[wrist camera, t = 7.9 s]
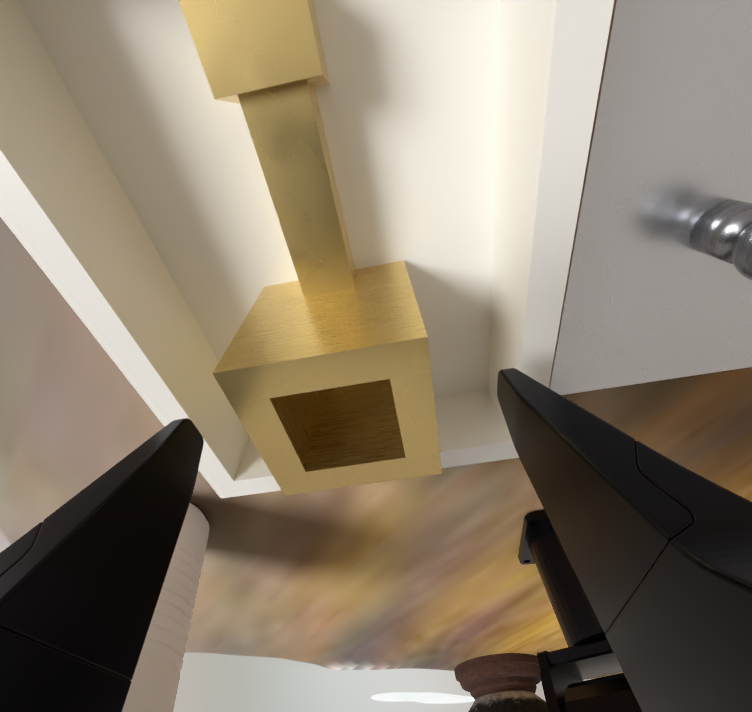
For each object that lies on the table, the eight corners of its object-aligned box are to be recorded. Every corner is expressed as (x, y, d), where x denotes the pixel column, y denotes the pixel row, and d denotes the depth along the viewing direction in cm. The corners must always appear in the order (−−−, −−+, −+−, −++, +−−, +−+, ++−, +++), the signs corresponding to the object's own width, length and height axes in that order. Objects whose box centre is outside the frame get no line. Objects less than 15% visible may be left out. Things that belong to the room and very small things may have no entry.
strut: (418, 372, 14) (442, 473, 10) (306, 391, 15) (284, 495, 10) (365, -30, 8) (370, -215, 3) (159, 22, 8) (-61, -88, 4)
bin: (505, 395, 16) (537, 455, 13) (244, 434, 17) (220, 498, 14) (553, -279, 6) (721, -633, 3) (-72, -102, 7) (-370, -257, 4)
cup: (34, 466, 18) (-312, 825, 9) (226, 467, 18) (94, 803, 9) (108, 555, 23) (-52, 828, 14) (253, 554, 24) (187, 814, 15)
